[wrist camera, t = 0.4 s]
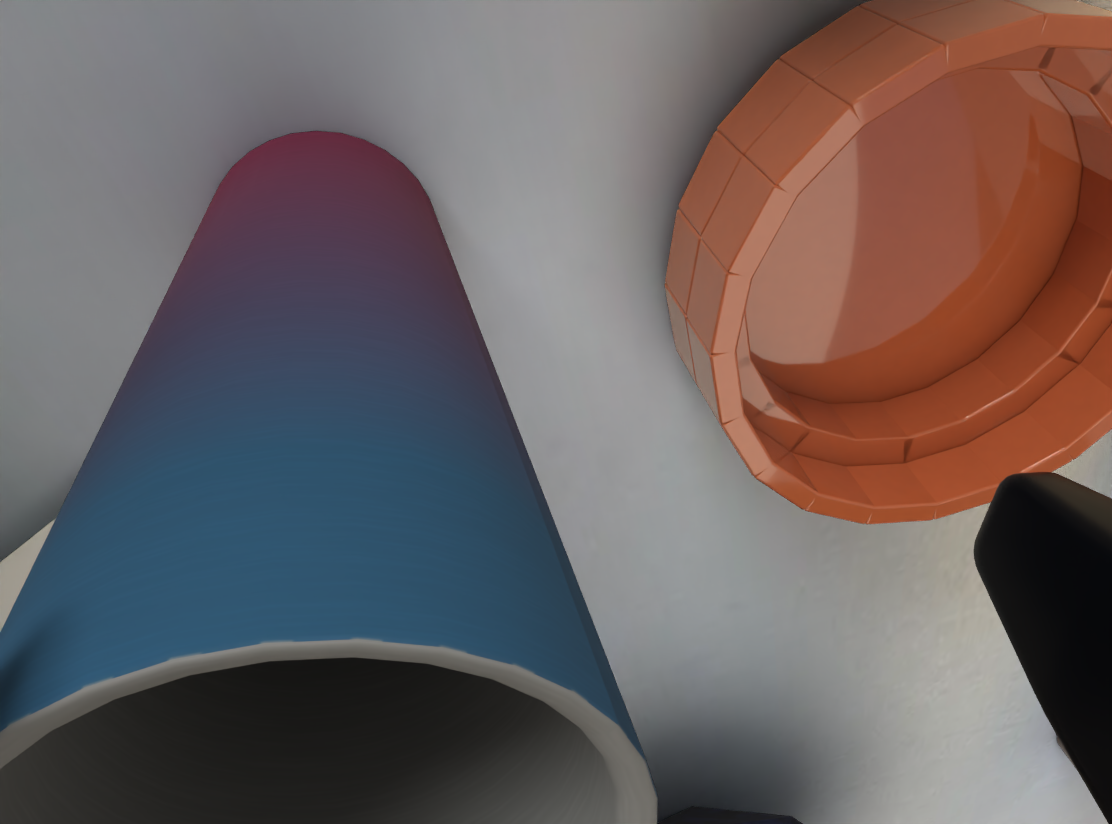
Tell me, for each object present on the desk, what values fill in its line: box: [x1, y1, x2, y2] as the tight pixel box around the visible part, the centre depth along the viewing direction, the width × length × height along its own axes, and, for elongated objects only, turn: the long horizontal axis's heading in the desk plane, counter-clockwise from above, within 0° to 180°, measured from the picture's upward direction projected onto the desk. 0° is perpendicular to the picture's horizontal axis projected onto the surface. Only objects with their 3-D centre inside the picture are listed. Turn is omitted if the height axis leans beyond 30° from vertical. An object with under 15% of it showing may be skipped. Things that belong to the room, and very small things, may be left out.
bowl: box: [664, 0, 1112, 524], centre depth 22 cm, size 12×12×4 cm
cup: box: [0, 131, 658, 824], centre depth 15 cm, size 7×7×15 cm
